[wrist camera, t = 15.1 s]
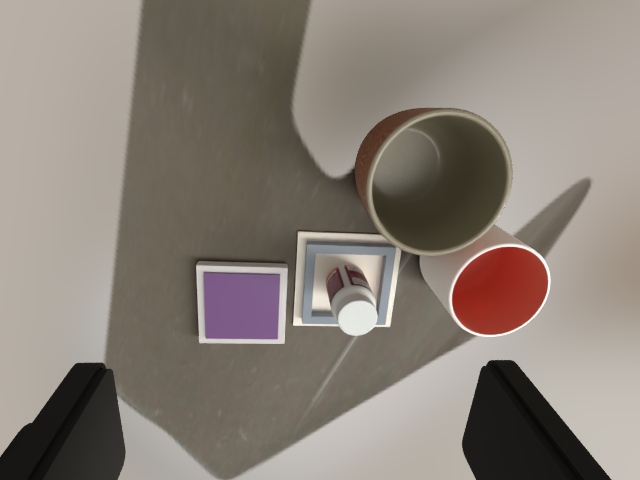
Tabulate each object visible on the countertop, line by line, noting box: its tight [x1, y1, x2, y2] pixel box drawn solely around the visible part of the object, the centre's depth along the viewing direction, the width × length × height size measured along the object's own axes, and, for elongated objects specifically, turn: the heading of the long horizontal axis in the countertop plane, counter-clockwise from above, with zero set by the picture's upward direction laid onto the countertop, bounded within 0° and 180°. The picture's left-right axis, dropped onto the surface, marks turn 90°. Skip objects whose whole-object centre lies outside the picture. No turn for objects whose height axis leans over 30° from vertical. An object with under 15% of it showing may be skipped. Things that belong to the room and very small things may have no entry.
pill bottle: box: [326, 264, 378, 336], centre depth 43 cm, size 5×5×8 cm
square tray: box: [293, 231, 401, 327], centre depth 47 cm, size 12×12×2 cm
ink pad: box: [196, 261, 288, 344], centre depth 47 cm, size 10×10×2 cm
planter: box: [355, 108, 513, 256], centre depth 38 cm, size 12×12×11 cm
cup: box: [420, 225, 550, 337], centre depth 43 cm, size 10×10×10 cm
